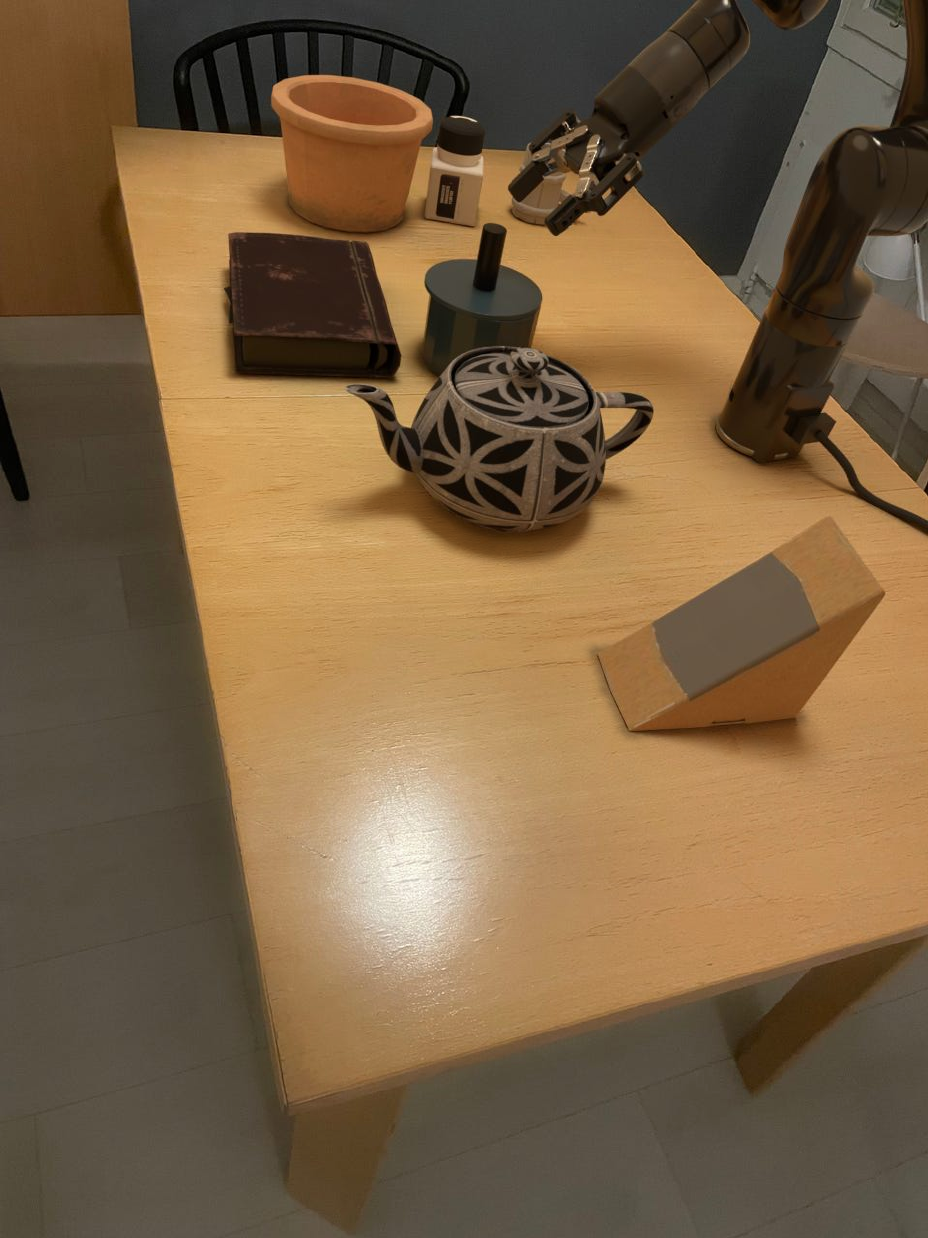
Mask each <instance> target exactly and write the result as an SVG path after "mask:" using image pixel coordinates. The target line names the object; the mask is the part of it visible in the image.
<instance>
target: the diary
mask: <svg viewBox="0 0 928 1238" xmlns="http://www.w3.org/2000/svg"><path fill="white" fill-rule="evenodd" d="M227 236H228V255H229V260H228V263H229V264H228V266H229V267H228V269H229V286H227V287H224V288H223V290H224V292H225V293H226V295H227V298H228V300H229V303H230V305H229V307H228V310H229V311H228V324H232V340H233V358H234V373H237V374H263V375H265V374H266V375H267V374H268V375H295V376H296V375H297V376H298V375H299V376H327V377H356V378H373V377H375V378H383V379H385V378H386V379H387V378H388V379H392V378H393V377H394V376H395V375H396V373H397V372H398V370H399V368H400V367H401V362H402V353H401V349H400V346H399V343H398V340H397V337H396V334H395V331H394V328H393V325H392V322H391V317H390V312H389V309H388V306H387V301H386V298H385V294H384V291H383V289H382V286H381V282H380V280H379V277H378V274H377V269H376V265H375V261H374V257H373V253H372V251H371V248H370V245H369V243H368V242H367V241H365V240H364V241H363V240H362V241H361V240H351V241H350V240H348V239H333V238H326V237H319V236H309V235H303V234H291V233H290V234H289V233H276V232H250V231H249V232H247V231H246V232H244V231H235V232H230V233H228V234H227Z"/></svg>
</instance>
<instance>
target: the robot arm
mask: <svg viewBox="0 0 928 1238" xmlns="http://www.w3.org/2000/svg"><path fill="white" fill-rule="evenodd" d="M751 1H752V2H753V3H754V4H755V5H756V6H757V7H758V8H759V9H760V11H761V12H762V13H764V15H765V16H766V17H767V19H768V20H770V21H771V22H772V23H773V24H774V25H775V26H776V27H777V28H779V29H781V30H783V31H793V30H797V29H800V28H801V27H803V26H806V25H807V24H808V23H810V22H811V21H812V20H813V19H815V17H816V16H817V15H819V14H820V12H821V11H822V10H823V8H824V7H825V6H826V4H827V3H828V1H829V0H751ZM901 3H902V12H903V19H904V27H905V36H906V59H905V69H904V76H903V79H902V84H901V87H900V92H899V95H898V99H897V102H896V103H897V104H896V107H895V110H894V113H893V115H892V119H891V122H890V125H889V126H883V125H856V126H855V125H854V126H851V127H848V128H846V129H844V130H842V131H841V132H840V133H838V134H837V135H836V136H835V137H834V138H833V139H832V140H831V141H830V142H829V143H828V144H827V146H826V147H825V149H824V150H823V152H822V153H821V154H820V156H819V158H818V160H817V162H816V164H815V166H814V169H813V171H812V172H811V175H810V177H809V180H808V183H807V185H806V188H805V190H804V192H803V196H802V199H801V202H800V204H799V207H798V209H797V213H796V215H795V217H794V221H793V223H792V225H791V228H790V231H789V234H788V236H787V239H786V243H785V246H784V250H783V258H782V269H781V272H780V275H779V278H778V280H777V283H776V285H775V286H774V290H773V291H772V294H771V296H770V298H769V301H768V303H767V306H766V308H765V310H764V312H763V314H762V317H761V319H760V322H759V324H758V326H757V329H756V331H755V333H754V335H753V337H752V340H751V342H750V345H749V347H748V350H747V352H746V354H745V357H744V359H743V360H742V363H741V366H740V368H739V370H738V372H737V374H736V377H735V378H734V379H735V380H734V381H732V383H731V385H730V387H729V389H728V393H727V396H726V400H725V403H724V406H723V408H722V410H721V412H720V413H719V415H718V416H717V420H716V422H715V431H716V433H717V434H718V436H719V437H720V439H721V440H723V442H724V443H725V444H727V445H728V446H729V447H731V448H732V449H734V450H735V451H737V452H740V453H741V454H744V455H746V456H748V457H751V458H752V459H754V461H756V462H757V463H766V462H772V461H773V462H774V461H780V460H785V459H791V458H797V457H799V455H800V453H801V452H802V450H803V448H804V446H805V445H809V444H815V443H819V444H821V445H822V447H823V448H824V449H825V450H826V451H827V452H828V453H829V454H830V455H831V456H832V457H833V458H834V459H835V461H836V462H837V463H838V464H839V465H840V467H841V469H842V471H844V474H845V476H846V478H847V481H848V484H849V485H850V487H851V488H852V489H853V491H854V492H855V493H856V494H858V495H859V496H860V497H861V498H862V499H864V500H866V501H865V502H868V503H870V504H871V505H873V506H875V507H876V508H878V509H880V510H882V511H885V512H887V513H889V514H891V515H893V516H896V517H898V518H901V519H903V520H906V521H908V522H910V523H912V524H914V525H916V526H918V527H920V528H922V529H923V530H925V531H927V532H928V519H925V518H924V517H922V516H920V515H918V514H916V513H913V512H911V511H909V510H907V509H904V508H902V507H899V506H897V505H895V504H892V503H891V502H888V501H886V500H884V499H881V498H880V497H878V496H877V495H875V494H874V493H872V492H871V491H869V490H868V489H867V488H866V487H865V486H864V485H862V483H861V481H860V480H859V478H858V476H857V473H856V471H855V467H853V465H852V464H851V462H850V461H849V459H848V458H847V456H846V455H845V454H844V453H843V452H842V451H841V450H840V448H839V447H838V446H836V444H835V443H834V442H833V441H832V440H831V439H830V437H829V436H830V435H831V432H832V431H833V429H834V428H835V425H836V423H837V420H835V419H834V418H833V417H832V416H831V415H829V413H827V412H825V411H824V412H823V410H824V408H825V406H826V404H827V402H828V400H829V398H830V397H831V394H832V392H833V391H834V390H835V389H834V388H835V383H834V381H832V380H831V377H832V375H833V373H834V371H835V370H836V367H837V365H838V364H839V361H840V360H841V357H842V356H843V354H844V352H845V350H846V348H847V346H848V344H849V342H850V340H851V338H852V336H853V334H854V333H855V331H856V328H857V327H858V325H859V324H860V321H861V319H862V317H863V315H864V313H865V311H866V310H867V308H868V306H869V305H870V302H871V301H872V297H873V295H874V292H875V283H874V281H873V280H872V278H871V276H870V275H869V274H868V273H866V271H865V270H863V269H861V267H859V266H857V261H858V259H859V256H860V254H861V252H862V249H863V246H864V244H865V242H866V240H867V238H868V237H901V236H905V235H909V234H912V233H914V232H915V231H917V230H919V229H920V228H921V227H923V226H924V225H925V224H926V223H927V222H928V0H901ZM750 44H751V34H750V29H749V26H748V23H747V21H746V19H745V16H744V15H743V13H742V11H741V10H740V7H739V5H738V3H737V0H696V1H695V2H694V3H693V5H692V6H691V7H690V8H689V9H687V11H686V12H684V13H683V14H682V15H681V17H679V18H678V19H677V20H676V21H675V22H674V23H673V24H672V25H671V26H670V27H669V28H668V29H667V30H666V31H665V32H664V33H662V35H660V36H659V37H658V38H657V39H655V40H654V41H652V42H651V43H650V44H648V45H647V46H646V47H644V48H643V50H642V51H641V52H640V53H639V54H638V55H636V57H634V58H633V59H632V61H631V62H629V64H627V65H626V67H624V69H622V70H621V71H620V72H619V73H618V74H617V75H616V76H615V77H614V78H613V79H612V80H611V81H610V82H609V83H608V84H607V85H606V86H605V87H603V89H602V90H601V91H600V92H599V93H598V94H596V96H595V97H594V100H593V111H592V113H591V114H590V115H589V116H588V117H586V118H584V119H582V120H580V119H579V118H578V116H577V114H576V112H575V110H574V109H573V108H572V107H571V108H568V109H566V110H564V112H563V113H562V114H560V115H559V116H558V117H557V118H556V119H555V120H554V121H553V122H552V123H551V124H550V125H549V126H547V127H546V128H545V130H543V131H542V132H541V133H539V135H538V136H537V137H535V138H534V139H533V140H532V141H531V142H529V143H530V145H529V147H528V148H529V150H530V152H531V155H532V158H531V159H532V161H531V162H530V164H529V165H528V166H526V167H525V168H524V169H523V170H522V171H521V172H520V171H519V173H518V174H517V176H515V177H514V178H513V179H512V181H511V182H510V183H509V184H508V186H507V190H508V192H509V193H510V195H511V198H512V197H513V198H514V199H515V200H516V201H517V202H522V201H523V200H524V199H525V198H526V197H527V196H528V195H529V194H530V193H531V192H532V191H533V190H534V189H535V188H536V187H537V186H538V185H539V184H540V183H541V182H542V181H543V180H544V178H543V177H547V176H549V175H552V174H554V173H557V172H562V173H566V174H567V173H570V172H572V173H573V174H575V175H578V177H579V180H578V182H577V184H576V186H575V187H576V188H575V190H574V193H573V194H574V195H575V196H572V194H570V193H569V194H570V195H569V196H568V197H567V198H566V199H565V200H564V201H563V202H560V203H559V204H560V205H559V206H558V207H557V208H555V209H554V210H553V211H552V212H551V213H550V214H549V215H548V216H547V217H546V218H545V221H544V223H545V225H544V226H545V227H546V228H547V229H548V231H549V233H550V234H551V235H553V236H554V237H558V236H559V235H561V234H562V233H564V232H565V231H567V230H568V229H569V228H570V227H572V225H573V224H574V223H575V222H576V221H577V220H578V219H579V218H580V217H582V215H584V214H590V213H592V212H594V213H596V214H597V216H599V217H603V216H605V215H606V214H607V213H608V212H609V211H611V210H612V208H613V207H615V205H617V204H618V202H619V201H620V200H622V198H624V197H625V195H626V194H627V193H628V192H629V191H630V190H631V189H632V188H633V187H634V186H635V185H636V184H637V183H638V182H639V181H640V180H641V179H642V178H643V177H644V175H645V172H644V169H643V168H642V165H641V163H640V161H639V159H641V158H643V156H645V155H646V154H647V153H648V152H649V151H650V150H651V149H652V148H653V147H654V146H655V145H657V143H659V142H660V141H661V140H662V139H663V138H664V137H665V136H666V135H667V134H668V133H669V132H670V131H671V130H672V129H673V128H674V127H675V126H676V125H678V124H679V123H680V122H681V121H682V120H683V119H684V118H685V117H686V116H687V115H689V113H690V112H692V110H693V109H694V108H695V107H696V105H697V104H698V103H699V102H700V100H701V99H702V98H703V97H704V96H705V95H706V94H707V93H708V92H709V91H710V90H711V89H712V88H713V87H714V86H715V85H716V84H717V83H718V82H719V81H721V79H722V78H723V77H724V76H726V75H727V73H728V72H730V71H731V70H732V69H734V67H735V66H736V65H737V64H738V63H739V62H740V61H741V60H742V59H743V58H744V57H745V55H746V54H747V52H748V50H749V48H750ZM549 141H550V143H551V146H549V147H547V148H545V149H542V148H541V147H542V146H543V145H544V144H545V143H548V142H549ZM562 149H564V150H565V155H564V153H563V151H562ZM552 158H553V159H554V160H555V162H552V163H550V164H548V162H549V161H550V160H551V159H552ZM609 189H610V192H609V194H608V195H607V196H606V197H605V198H604V197H603V196H604V195H605V194H606V193H607V192H608V190H609Z"/></svg>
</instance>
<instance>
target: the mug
mask: <svg viewBox="0 0 928 1238" xmlns="http://www.w3.org/2000/svg"><path fill="white" fill-rule="evenodd" d="M530 143H531V142H529V143H527V145H526V149H525V153H524V158H523V161H522V162H521V164H520V165H519V173H520V172H521V171H522V170H523V169H524V168H525V167H526V166H528V165H529V164H530V162H531V161H532V159H531V158H532V155H531V152H530V150H529V148H528V147H529V145H530ZM549 146H551V142H546V143H545V144H544V145H543V146H542V147H541V148H542V149H545V148H547V147H549ZM565 150H566V149H565V148H564V149H562V151H563V153H564V155H565ZM552 162H555V160H554V159H553V158H552V159H551V160H550V161H549V162H548V164H550V163H552ZM543 178H544V180H543V181H542V182H541V183H540V184H539V185H538V186H537V187H536V188H535V189H534V190H533V191H532V192H531V193H530V194H529V195H528V196H527V197H526V198H525V199H524V200H523V201H522V202H517V201H516V200H515V199H514V198H513V197H512V196H511V205H512V208H511V212H512V214H513V216H515V217H516V218H518V219H520V220H522V221H523V222H526V223H528V224H532V225H534V224H535V225H540V226H543V225H544V226H546V225H545V223H544V221H545V218H546V217H547V216H548V215H549V214H550V213H551V212H552V211H553V210H554V209H555V208H557V207H558V206H559V205H560V204H561V203H562V202H563V201H564V200H565V199H566V198H567V197H568V196H569V195H570V193H569V192H567V191H565V190H564V189H562V188H563V183H564V182H565V181H566V178H567V173H562V172H557V173H554V174H552V175H549V176H547V177H543ZM571 195H572V196H575V195H574V193H572V194H571Z"/></svg>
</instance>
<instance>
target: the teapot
mask: <svg viewBox="0 0 928 1238" xmlns="http://www.w3.org/2000/svg"><path fill="white" fill-rule="evenodd" d="M343 389H344V391H346V392H347V393H348V394H351V395H353V396H355V397H357V398H360V399H361V400H362V401H364V402H365V403H367V405H368V406H369V407H370V409H371V411H372V413H373V415H374V419H375V422H376V425H377V430H378V435H379V439H380V441H381V445H382V447H383V449H384V451H385V454H386V455H387V456H388V458H389V459H390V460H391V461H392V463H394V465H396V466H397V467H398V468H400V469H402V470H404V471H405V472H409V473H411V474H415V476H416V478H417V480H418V481H419V483H420V484H421V486H422V487H423V488H424V490H425V491H426V492H427V493H428V494H429V495H430V497H432V498H433V499H434V500H435V501H436V502H438V503H439V504H440V505H441V506H442V507H444V508H445V509H446V510H447V511H449V512H450V513H451V514H453V515H454V516H456V517H457V518H459V519H461V520H463V521H464V522H467V523H469V524H472V525H474V526H475V527H476V526H477V527H480V528H483V529H486V530H492V531H495V532H497V531H498V532H504V533H505V532H506V533H525V532H531V531H532V532H533V531H537V530H541V529H546V528H549V527H553V526H558V525H560V524H562V523H565V522H568V521H570V520H571V519H573V518H574V517H576V516H578V515H579V514H581V513H582V512H583V511H584V510H585V509H586V508H588V507H589V506H590V505H591V503H592V502H593V501H594V499H595V498H596V497H597V495H598V494H599V491H600V489H601V487H602V484H603V480H604V476H605V470H606V464H607V460H608V459H611V458H612V457H614V456H616V455H617V454H620V453H621V452H623V451H624V450H625V449H627V448H629V447H630V446H631V445H633V444H634V443H635V442H636V441H637V440H638V439H639V438H641V436H642V435H643V434H644V433H645V432H646V430H647V429H648V427H649V426H650V424H651V422H652V420H653V418H654V414H655V413H654V412H655V410H654V409H655V408H654V405H653V403H652V402H651V400H650V399H649V398H648V397H645V396H644V395H643V394H642V395H641V394H639V393H634V392H626V391H596V390H595V389H594V386H593V385H592V384H591V382H590V381H589V380H588V379H587V378H586V377H585V376H584V375H583V374H582V373H581V372H580V371H579V370H578V369H576V368H575V367H573V366H572V365H570V364H568V363H566V362H565V361H564V360H561V359H559V358H557V357H555V356H552V355H550V354H547V353H544V352H543V351H541V350H539V349H536V348H535V347H534V348H533V347H531V348H529V347H519V348H518V347H507V346H493V347H484V348H478V349H474V350H471V351H468V352H466V353H464V354H462V355H460V356H458V357H457V358H455V359H454V360H453V361H452V362H451V363H450V364H449V366H448V367H447V368H446V369H445V371H444V372H443V373H442V374H441V376H440V377H438V378H437V380H436V381H435V383H434V384H433V385H432V386H431V388H430V389H429V391H428V392H427V393H426V395H425V397H424V398H423V400H422V402H421V404H420V405H419V407H418V409H417V411H416V413H415V415H414V418H413V420H412V423H411V427H407V426H404V425H402V424H401V423H400V422H399V419H398V418H397V414H396V410H395V406H394V404H393V401H392V399H391V398H390V396H389V394H388V393H387V392H386V391H385V390H383V389H382V388H381V387H379V386H376V385H372V384H367V383H350V384H347V385H344V387H343ZM601 409H630V410H635V412H634V414H633V415H632V416H631V418H630V419H629V421H628V422H627V423H626V424H625V425H624V426H623V427H622V428H621V429H620V430H619V431H618V432H616V433H615V434H613V435H612V436H611V437H609V438H608V439H606V436H605V429H604V423H603V417H602V412H601Z"/></svg>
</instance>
